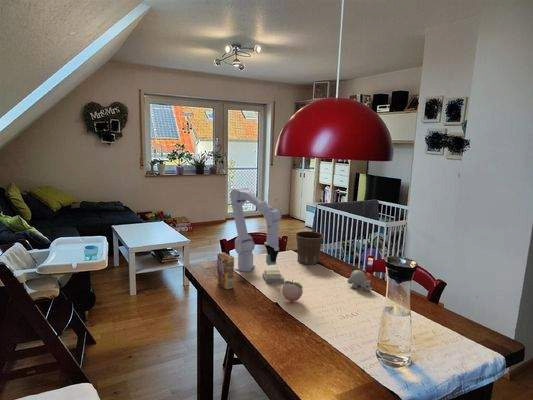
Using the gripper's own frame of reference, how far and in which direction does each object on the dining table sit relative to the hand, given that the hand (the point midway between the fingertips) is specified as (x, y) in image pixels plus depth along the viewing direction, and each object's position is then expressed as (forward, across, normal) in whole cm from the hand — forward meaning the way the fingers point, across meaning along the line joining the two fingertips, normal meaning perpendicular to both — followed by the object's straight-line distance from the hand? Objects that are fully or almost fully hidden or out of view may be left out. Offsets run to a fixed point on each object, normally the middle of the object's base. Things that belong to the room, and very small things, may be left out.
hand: (271, 260), depth 170 cm
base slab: (+11, 0, +1) cm, 11 cm away
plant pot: (+10, -21, +29) cm, 37 cm away
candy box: (+10, +2, -24) cm, 26 cm away
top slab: (+8, 0, 0) cm, 8 cm away
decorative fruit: (+11, +25, +2) cm, 27 cm away
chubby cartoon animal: (+11, +19, +39) cm, 45 cm away
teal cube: (+2, 0, 0) cm, 2 cm away
